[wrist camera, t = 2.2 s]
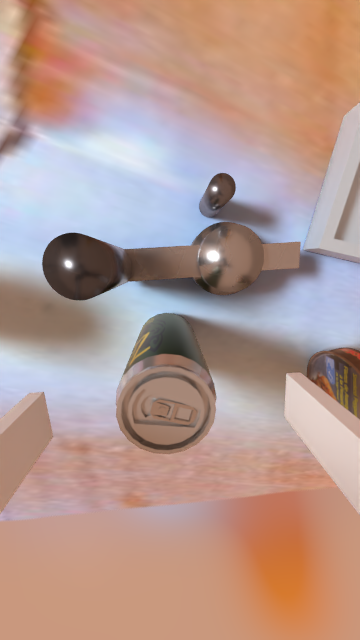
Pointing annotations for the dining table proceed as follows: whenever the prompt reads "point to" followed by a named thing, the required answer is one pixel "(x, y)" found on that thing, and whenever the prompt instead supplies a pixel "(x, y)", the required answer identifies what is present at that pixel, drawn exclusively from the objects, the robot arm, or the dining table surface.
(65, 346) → the dining table surface
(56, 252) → the crank
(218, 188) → the base
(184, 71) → the dining table surface
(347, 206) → the tray
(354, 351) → the tin
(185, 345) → the beer can
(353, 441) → the robot arm
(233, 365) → the dining table surface
